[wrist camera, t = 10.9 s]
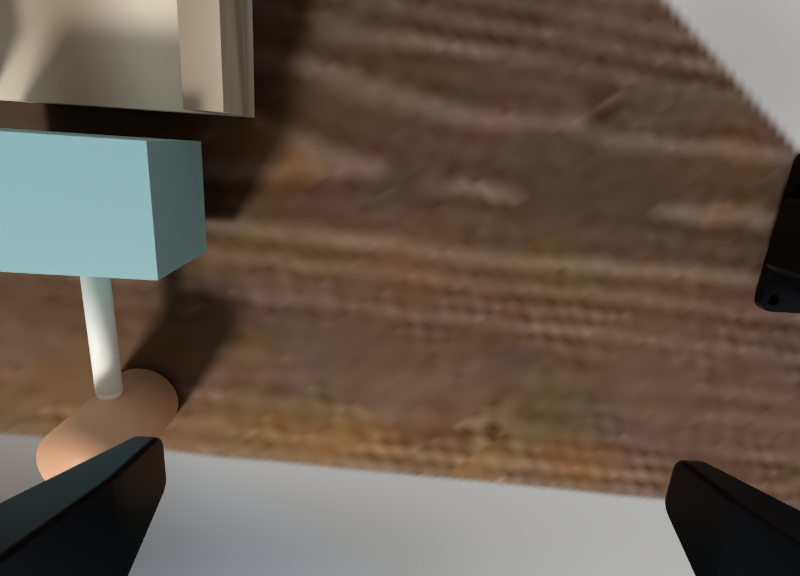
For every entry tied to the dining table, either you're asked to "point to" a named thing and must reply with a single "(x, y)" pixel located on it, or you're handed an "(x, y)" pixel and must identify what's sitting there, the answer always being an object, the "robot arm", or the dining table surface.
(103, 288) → the lever with tan knob
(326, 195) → the dining table surface
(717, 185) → the dining table surface
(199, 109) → the lane
